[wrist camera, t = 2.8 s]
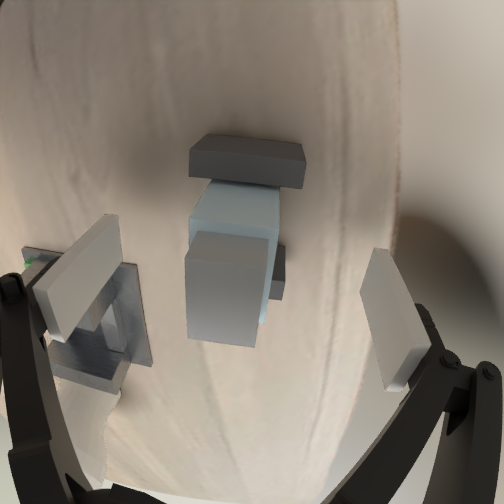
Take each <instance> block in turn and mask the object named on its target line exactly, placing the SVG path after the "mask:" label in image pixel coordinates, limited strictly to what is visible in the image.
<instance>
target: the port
mask: <svg viewBox="0 0 504 504" xmlns="http://www.w3.org/2000/svg"><path fill="white" fill-rule="evenodd" d="M21 250H22V254H23V257H24V261H25V263H24V265H25V268H26V269H25V271H24V272H23V273H22V274H21V277H22V280H23V283H24V286H25V287H26V286H27V285H28V283H29V282H30V281H31V280H32V279H33V278H34V277H35V276H36V275H37V274H39V272H40V271H41V270H42V269H44V267H45V266H46V265H47V264H48V262H49V261H51V260H53V259H54V258H56V257H58V256H62V255H63V254H64V253H58V252H52V251H46V250H40V249H34V248H29V247H23V248H22V249H21ZM47 351H48V356H49V361H50V366H51V370H52V375H55V376H57V377H60V378H63V379H66V380H69V381H72V382H75V383H78V384H81V385H84V386H87V387H90V388H94V389H97V390H100V391H104V392H107V393H111V394H114V395H118V393H119V390H120V388H121V385H122V383H123V380H124V378H125V376H126V373H127V371H128V368H129V366H130V364H131V363H135V364H139V365H143V366H148V367H152V364H153V363H152V358H151V353H150V347H149V342H148V337H147V331H146V325H145V319H144V313H143V307H142V300H141V293H140V286H139V279H138V271H137V265H133V264H126V263H120V265H119V266H118V267H117V269H116V270H115V271H114V273H113V274H112V275H111V277H110V278H109V280H108V281H107V282H106V284H105V285H104V286H103V288H102V289H101V291H100V292H99V293H98V295H97V296H96V298H95V299H94V301H93V302H92V303H91V305H90V306H89V308H88V309H87V311H86V312H85V314H84V315H83V316H82V318H81V319H80V321H79V322H78V324H77V325H76V327H75V328H74V330H73V331H72V333H71V334H70V336H69V338H68V339H67V341H66V342H65V343H63V342H60V341H57V340H54V339H53V340H52V341H51V343H50V344H49V346H48V348H47Z"/></svg>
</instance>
